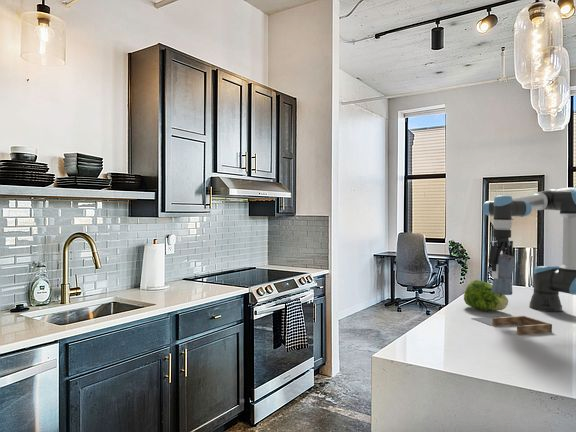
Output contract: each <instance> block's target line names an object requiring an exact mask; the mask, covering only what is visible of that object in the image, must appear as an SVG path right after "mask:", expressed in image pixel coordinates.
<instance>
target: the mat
mask: <svg viewBox="0 0 576 432" xmlns="http://www.w3.org/2000/svg"><path fill="white" fill-rule="evenodd" d="M497 317H499V316H496V315H495V316H485V317H484V316H483V317H471V320H474V321H477V322H479V323H482V324H485V325H487V326H492V322H493V318H497Z"/></svg>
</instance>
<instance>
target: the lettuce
mask: <svg viewBox="0 0 576 432" xmlns="http://www.w3.org/2000/svg"><path fill="white" fill-rule="evenodd" d="M492 285H493V284H491V283H490V282H489V283H488V282H487V281H483V280H479V279H475V280H472V281H471V282H470V283H468V285H467V286H466V288H465V291H464V293H463V300H464V302H465V304H466V305H468V306H469V307H470V308H472V309H475V310H479V311H483V312H484V311H485V312H495V311H496V312H497V311H502V310H505V309H506V308H507V307H508V305H509V299H508V297H507V295H501V294H496V293H493V292H491V289H492Z"/></svg>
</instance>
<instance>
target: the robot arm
mask: <svg viewBox="0 0 576 432" xmlns="http://www.w3.org/2000/svg"><path fill="white" fill-rule="evenodd" d="M493 199H494V200H487V201H485V202H484V203H483V205H482V211H483V213H484V215H486V216H491V217H493V222H492V223H493V225H492V226H493V227H492V228H493V229H492V233H493V234H492V236H493V238H494V239H495V240H494V241H490V249H489V256H488V263H489V264H490V265H491V278H492V279H494V278H495V279H498V264H497V263H498V257H499V256H500V254H502V253H501V252H502V251H506V255H510V256H513V257H515V256H514V247H513V245H514V241H513V240H509V239H510V238H512V230H511V229H512V217H521V218H523V217H527V216H529V215H530V214H531V213H532V211H533V210H536V211H542V210H543V211H544V210H545V211H546V210H548V211H559V215H561V216H562V217H563V218H562V219H563V220H562V263H561V264H560V265H540V266H535V267H534V272H533V293H532V296H531V299H530V301H529V308H531V309H534V310H538V311H544V312H551V313H552V312H555V313H556V312H562V311H563V305H562V303H561V299H560V296H559V293H565V294H569V295H572V296H576V186H575V187H562V188H561V187H560V188H559V187H557V188H556V187H555V188H551V189H546V190H543V191H537V192H536V191H535V192H534V193H533V194H531V195H525V196H524V195H522V196H518V197H512V195H496V196H494V198H493Z"/></svg>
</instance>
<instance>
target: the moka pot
mask: <svg viewBox="0 0 576 432" xmlns="http://www.w3.org/2000/svg"><path fill="white" fill-rule="evenodd" d="M501 252H502V253H500V256H499V257H498V263H497V264H498V279H495V278H493V279H492V280H493V281H492V284H491V285H492V289H491V292H493V293H496V294H501V295H505V296H511V295H513V281H512V274H513V271H514V266H515V260H516V257H515V256H514V257H513V256H510V255H506V251H501Z"/></svg>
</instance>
